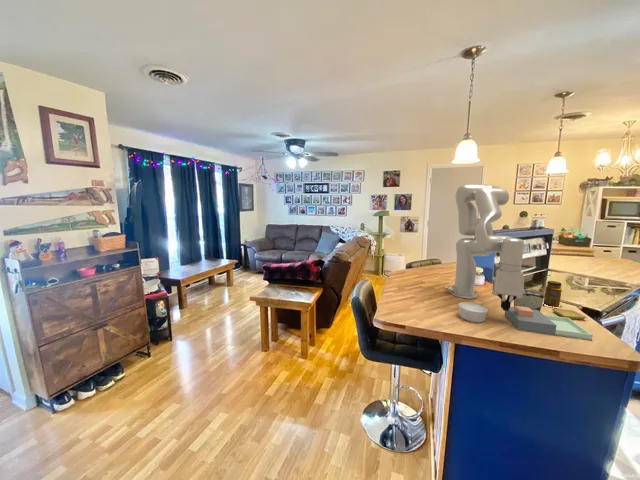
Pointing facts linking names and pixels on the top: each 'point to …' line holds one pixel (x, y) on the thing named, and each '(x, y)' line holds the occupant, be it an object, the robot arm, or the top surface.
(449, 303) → the top surface
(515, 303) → the food container
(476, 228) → the robot arm
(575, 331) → the box
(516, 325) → the ledge
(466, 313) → the ramekin
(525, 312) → the tile
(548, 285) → the condiment
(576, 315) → the olive flat square tray
